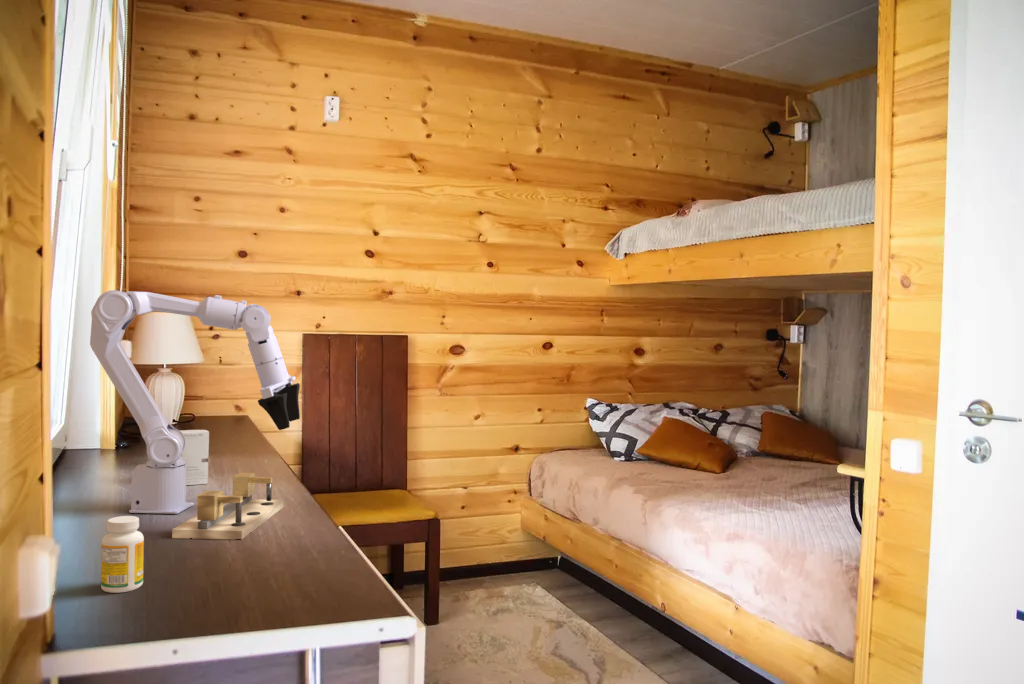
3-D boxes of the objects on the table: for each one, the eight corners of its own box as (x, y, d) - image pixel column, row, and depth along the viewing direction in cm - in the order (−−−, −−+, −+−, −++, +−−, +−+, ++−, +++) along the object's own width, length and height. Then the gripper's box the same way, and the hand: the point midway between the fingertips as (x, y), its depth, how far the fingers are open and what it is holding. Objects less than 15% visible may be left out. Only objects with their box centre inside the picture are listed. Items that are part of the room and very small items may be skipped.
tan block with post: (232, 502, 156) (232, 476, 156) (239, 497, 160) (240, 472, 160) (268, 502, 156) (268, 477, 156) (274, 498, 160) (274, 473, 160)
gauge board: (172, 538, 137) (172, 497, 137) (224, 505, 161) (224, 471, 161) (241, 539, 137) (242, 499, 137) (283, 507, 161) (283, 472, 161)
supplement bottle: (111, 596, 108) (111, 526, 108) (94, 587, 112) (94, 519, 111) (150, 586, 112) (151, 519, 112) (133, 578, 116) (133, 512, 115)
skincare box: (180, 486, 178) (181, 432, 178) (176, 483, 182) (177, 430, 182) (209, 484, 182) (209, 431, 182) (204, 480, 186) (205, 428, 185)
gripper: (276, 361, 155) (298, 427, 157) (297, 351, 169) (316, 411, 171) (242, 371, 155) (264, 437, 157) (265, 360, 170) (285, 420, 171)
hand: (289, 424), depth 164 cm, fingers open, 7 cm apart
